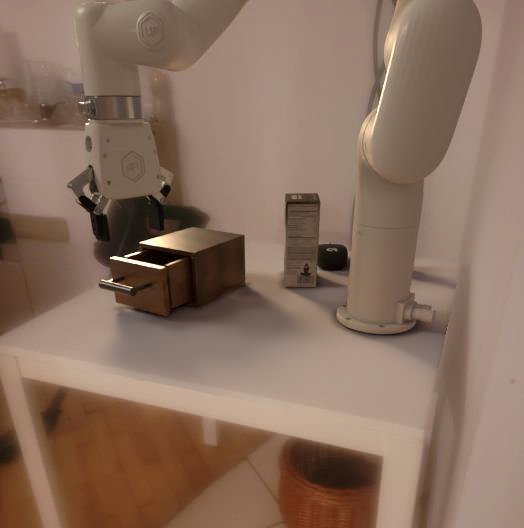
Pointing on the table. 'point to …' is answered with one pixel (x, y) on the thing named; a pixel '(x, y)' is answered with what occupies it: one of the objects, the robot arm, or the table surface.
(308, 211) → the coffee box
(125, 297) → the drawer
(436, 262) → the table surface
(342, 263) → the computer mouse
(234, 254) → the cabinet
